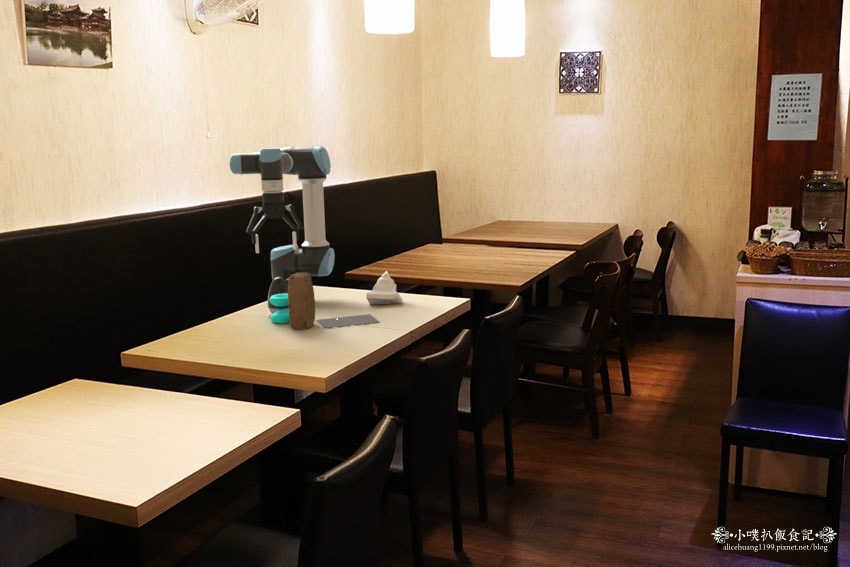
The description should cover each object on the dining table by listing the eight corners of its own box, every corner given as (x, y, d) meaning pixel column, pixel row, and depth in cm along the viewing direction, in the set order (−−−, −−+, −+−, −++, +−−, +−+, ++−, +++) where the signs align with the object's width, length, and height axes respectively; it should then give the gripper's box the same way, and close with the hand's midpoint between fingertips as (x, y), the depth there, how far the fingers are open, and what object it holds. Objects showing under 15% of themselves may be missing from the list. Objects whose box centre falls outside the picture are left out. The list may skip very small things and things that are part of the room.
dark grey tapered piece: (298, 315, 310) (295, 277, 307) (272, 318, 306) (269, 280, 303) (290, 310, 319) (288, 273, 316) (265, 313, 315) (262, 276, 312)
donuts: (300, 295, 299) (278, 299, 293) (302, 320, 301) (279, 325, 295) (286, 291, 307) (264, 295, 300) (288, 316, 309) (265, 321, 302)
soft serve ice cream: (366, 305, 332) (367, 271, 333) (401, 306, 333) (403, 273, 334) (366, 303, 320) (367, 268, 321) (403, 305, 321) (404, 270, 322)
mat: (316, 320, 301) (316, 319, 301) (369, 314, 308) (369, 314, 308) (324, 328, 288) (324, 328, 288) (380, 322, 295) (380, 321, 295)
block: (306, 330, 286) (303, 276, 282) (287, 329, 288) (284, 275, 284) (318, 323, 296) (315, 271, 293) (300, 322, 298) (297, 270, 295)
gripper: (238, 194, 272) (243, 255, 276) (309, 190, 281) (313, 249, 285) (235, 193, 279) (239, 252, 283) (304, 189, 288) (308, 247, 292)
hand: (276, 251), depth 284 cm, fingers open, 13 cm apart
